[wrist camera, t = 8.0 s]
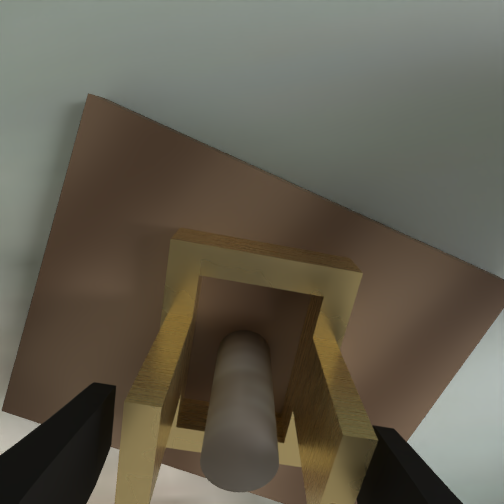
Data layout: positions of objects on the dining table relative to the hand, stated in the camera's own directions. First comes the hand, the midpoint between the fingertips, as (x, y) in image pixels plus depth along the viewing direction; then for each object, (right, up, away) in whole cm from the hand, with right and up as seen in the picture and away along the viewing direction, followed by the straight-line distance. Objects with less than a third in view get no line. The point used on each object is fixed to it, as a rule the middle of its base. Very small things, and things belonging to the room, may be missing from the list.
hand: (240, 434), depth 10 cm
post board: (0, +2, +5) cm, 5 cm away
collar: (0, +2, +4) cm, 4 cm away
